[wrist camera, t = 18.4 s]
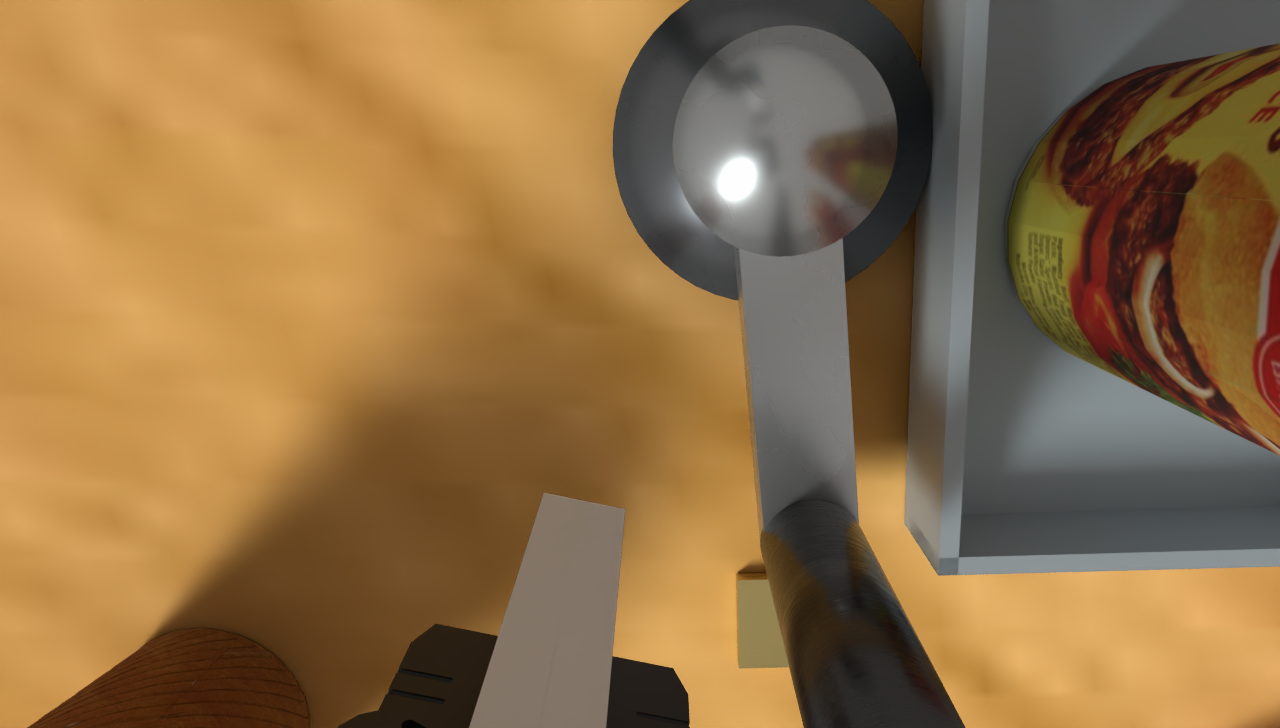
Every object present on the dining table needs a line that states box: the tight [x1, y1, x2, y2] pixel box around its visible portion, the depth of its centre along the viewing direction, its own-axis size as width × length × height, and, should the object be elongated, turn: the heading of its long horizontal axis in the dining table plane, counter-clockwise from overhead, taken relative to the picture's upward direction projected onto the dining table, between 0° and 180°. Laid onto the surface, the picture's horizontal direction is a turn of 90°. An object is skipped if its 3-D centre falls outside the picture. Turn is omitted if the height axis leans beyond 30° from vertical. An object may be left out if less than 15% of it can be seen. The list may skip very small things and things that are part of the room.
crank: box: [672, 25, 965, 728], centre depth 16 cm, size 14×5×10 cm, turn 7°
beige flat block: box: [736, 573, 789, 668], centre depth 25 cm, size 3×2×1 cm, turn 3°
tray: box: [905, 0, 1280, 575], centre depth 20 cm, size 17×12×3 cm
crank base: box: [613, 0, 933, 300], centre depth 21 cm, size 8×8×1 cm
